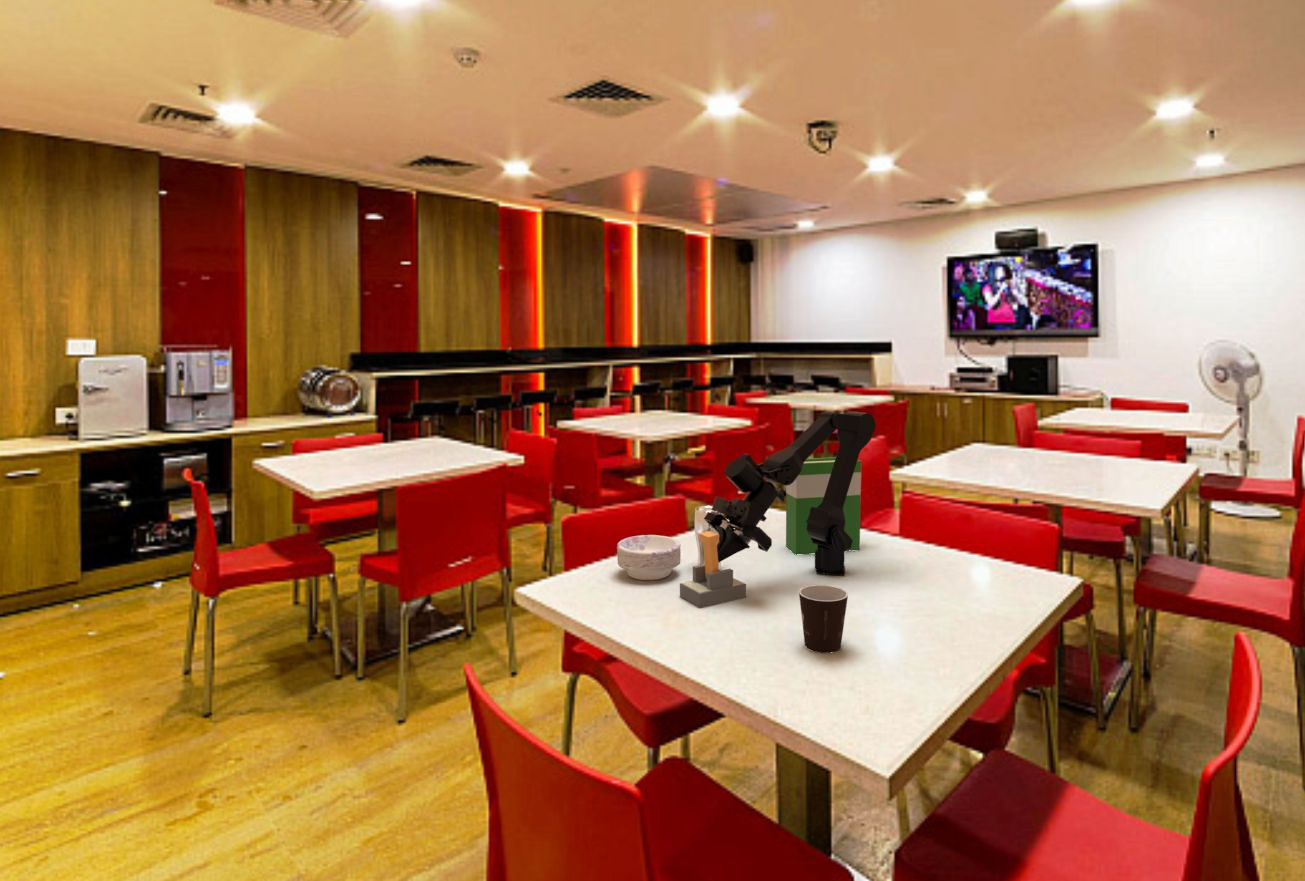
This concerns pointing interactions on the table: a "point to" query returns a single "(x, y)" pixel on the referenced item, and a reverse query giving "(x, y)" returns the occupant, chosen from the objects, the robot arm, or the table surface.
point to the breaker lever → (710, 551)
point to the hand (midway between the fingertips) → (715, 561)
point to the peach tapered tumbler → (702, 530)
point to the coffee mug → (823, 617)
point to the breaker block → (712, 587)
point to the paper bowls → (648, 556)
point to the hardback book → (811, 494)
